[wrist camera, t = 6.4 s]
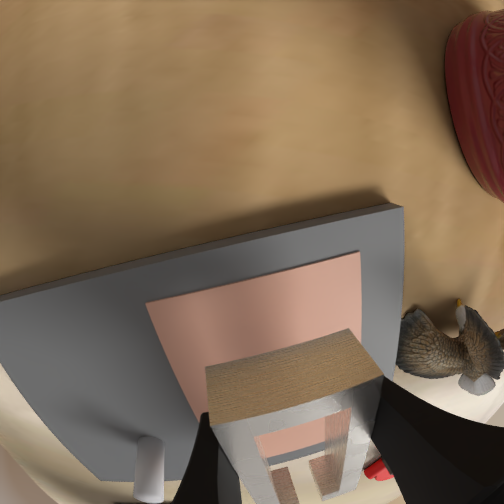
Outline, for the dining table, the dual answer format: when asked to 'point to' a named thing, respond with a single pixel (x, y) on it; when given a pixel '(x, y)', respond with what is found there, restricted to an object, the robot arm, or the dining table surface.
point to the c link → (297, 411)
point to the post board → (196, 336)
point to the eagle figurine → (452, 350)
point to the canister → (479, 95)
